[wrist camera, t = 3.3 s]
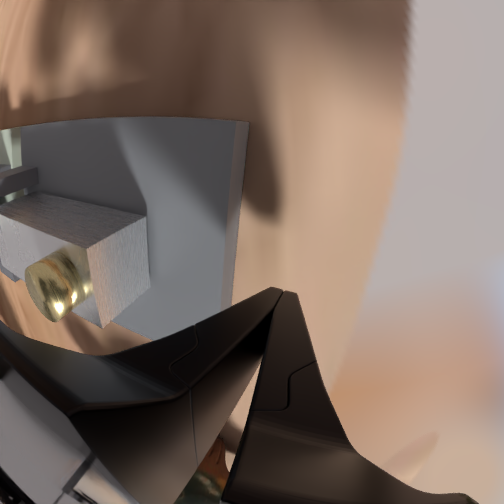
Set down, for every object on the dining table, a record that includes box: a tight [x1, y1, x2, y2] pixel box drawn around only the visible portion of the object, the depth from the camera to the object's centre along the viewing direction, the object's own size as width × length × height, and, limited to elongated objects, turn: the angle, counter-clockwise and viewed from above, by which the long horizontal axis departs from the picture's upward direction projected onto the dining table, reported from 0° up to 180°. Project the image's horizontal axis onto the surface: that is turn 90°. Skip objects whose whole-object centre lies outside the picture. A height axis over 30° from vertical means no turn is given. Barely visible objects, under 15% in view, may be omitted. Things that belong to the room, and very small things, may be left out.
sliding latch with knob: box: [0, 116, 250, 341], centre depth 11 cm, size 10×19×5 cm, turn 85°
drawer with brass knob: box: [0, 191, 150, 329], centre depth 10 cm, size 3×8×4 cm, turn 85°
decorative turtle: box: [174, 436, 230, 504], centre depth 16 cm, size 10×15×8 cm, turn 83°
